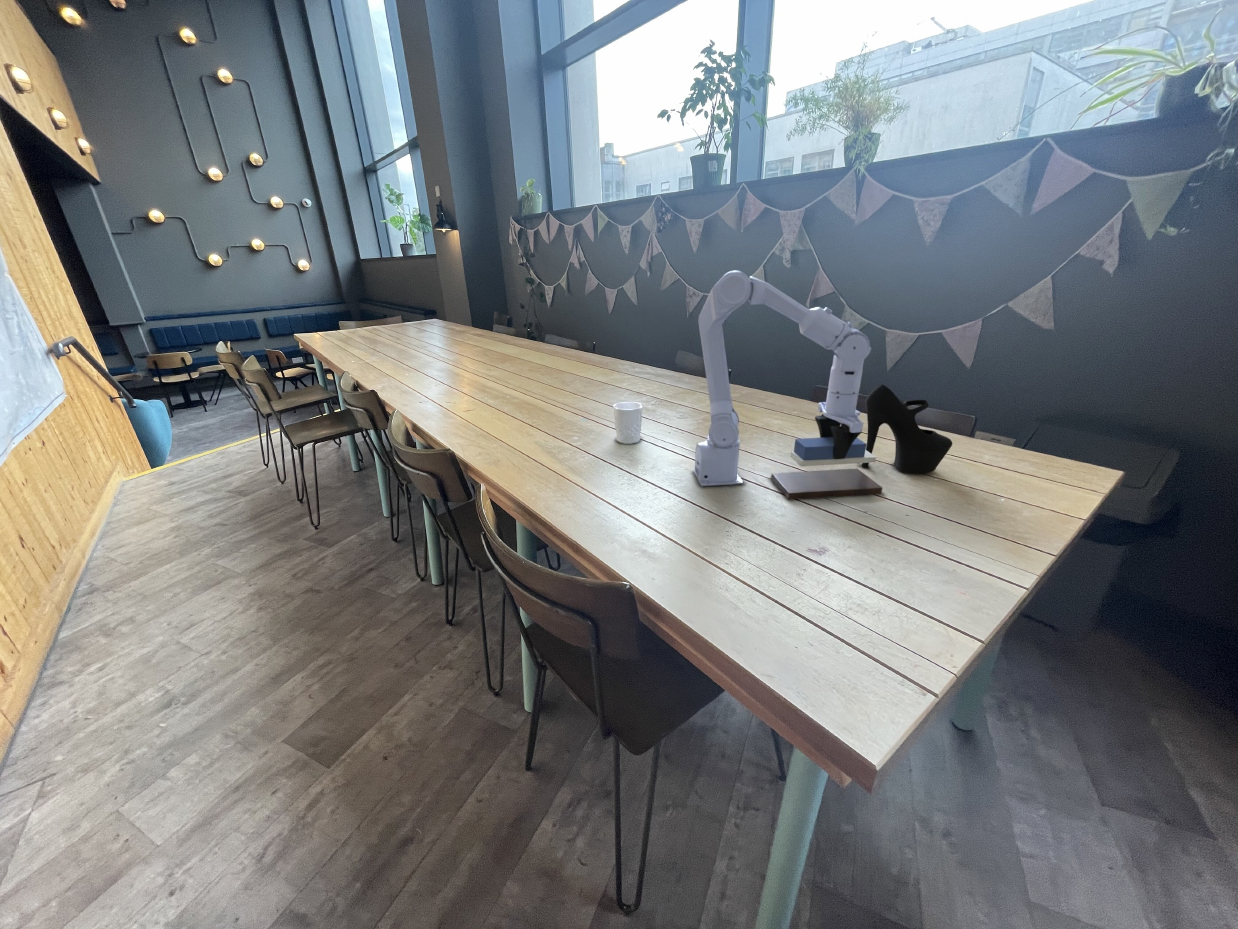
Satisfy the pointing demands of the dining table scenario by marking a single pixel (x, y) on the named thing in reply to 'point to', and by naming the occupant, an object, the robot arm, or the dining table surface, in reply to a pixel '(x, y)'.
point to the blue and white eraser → (828, 452)
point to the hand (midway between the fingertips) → (832, 453)
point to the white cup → (628, 421)
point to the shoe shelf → (825, 483)
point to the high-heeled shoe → (904, 432)
